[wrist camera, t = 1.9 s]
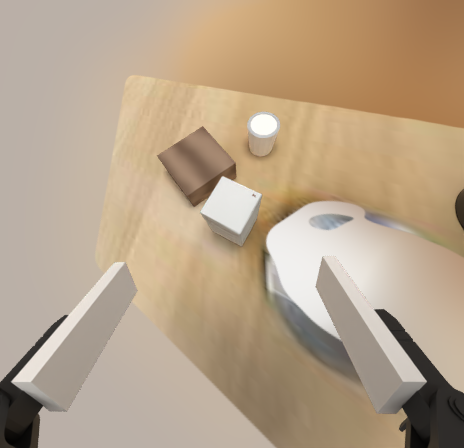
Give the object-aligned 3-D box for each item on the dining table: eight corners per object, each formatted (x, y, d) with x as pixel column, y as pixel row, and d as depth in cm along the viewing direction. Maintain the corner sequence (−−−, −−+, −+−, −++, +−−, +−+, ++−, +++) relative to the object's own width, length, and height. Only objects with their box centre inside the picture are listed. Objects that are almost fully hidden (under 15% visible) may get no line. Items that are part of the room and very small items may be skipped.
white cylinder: (271, 161, 44) (276, 140, 38) (243, 155, 45) (243, 134, 39) (277, 137, 46) (283, 113, 39) (250, 132, 47) (251, 108, 40)
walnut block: (207, 144, 47) (202, 126, 41) (236, 177, 44) (235, 162, 38) (167, 171, 46) (157, 155, 40) (194, 207, 42) (187, 196, 37)
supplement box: (228, 203, 42) (222, 173, 30) (257, 218, 41) (264, 193, 28) (211, 231, 40) (198, 211, 28) (241, 248, 39) (240, 234, 27)
